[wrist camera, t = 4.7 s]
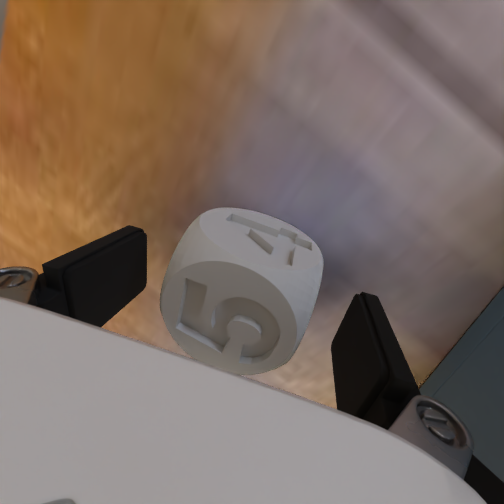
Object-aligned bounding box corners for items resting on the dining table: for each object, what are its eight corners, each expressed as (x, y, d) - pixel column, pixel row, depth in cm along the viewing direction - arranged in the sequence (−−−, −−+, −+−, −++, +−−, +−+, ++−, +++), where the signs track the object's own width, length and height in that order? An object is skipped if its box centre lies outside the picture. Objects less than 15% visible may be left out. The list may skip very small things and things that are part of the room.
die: (222, 197, 12) (167, 232, 7) (322, 233, 11) (329, 294, 7) (203, 280, 14) (151, 345, 9) (285, 312, 13) (271, 395, 9)
